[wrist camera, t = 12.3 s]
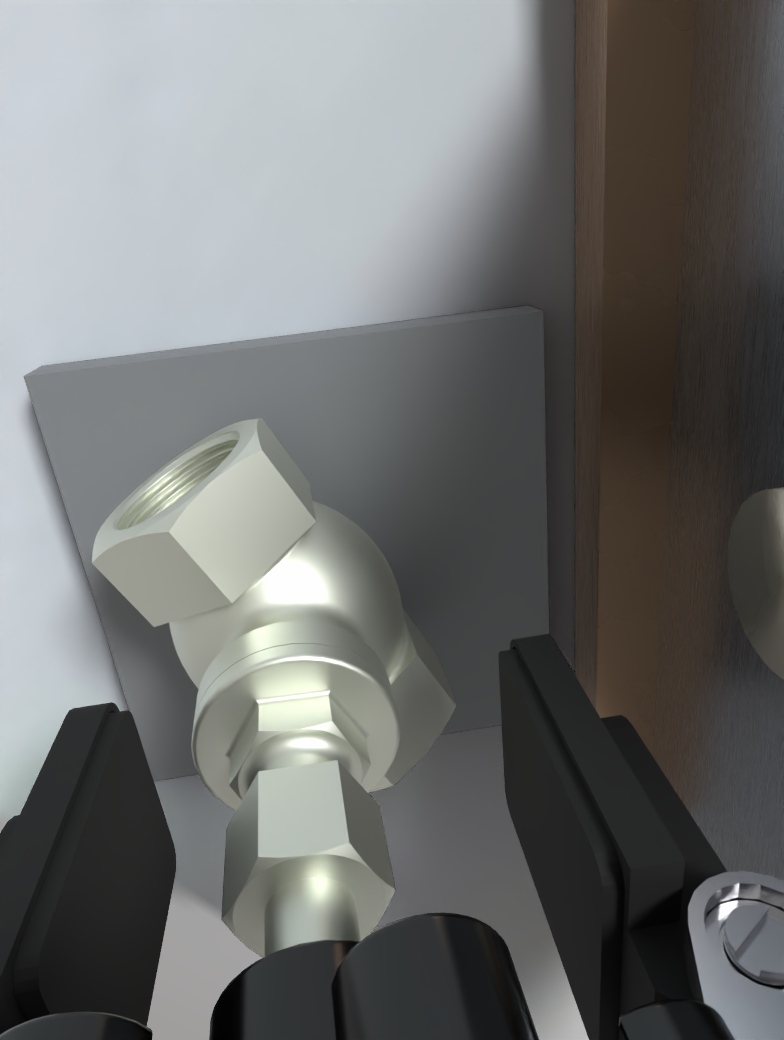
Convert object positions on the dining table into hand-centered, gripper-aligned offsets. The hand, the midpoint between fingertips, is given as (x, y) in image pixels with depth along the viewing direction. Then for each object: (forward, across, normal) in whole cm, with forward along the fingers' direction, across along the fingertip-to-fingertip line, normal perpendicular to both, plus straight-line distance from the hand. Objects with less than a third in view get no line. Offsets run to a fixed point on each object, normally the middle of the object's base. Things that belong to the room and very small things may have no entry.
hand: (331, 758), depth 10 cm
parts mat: (+7, 0, 0) cm, 7 cm away
